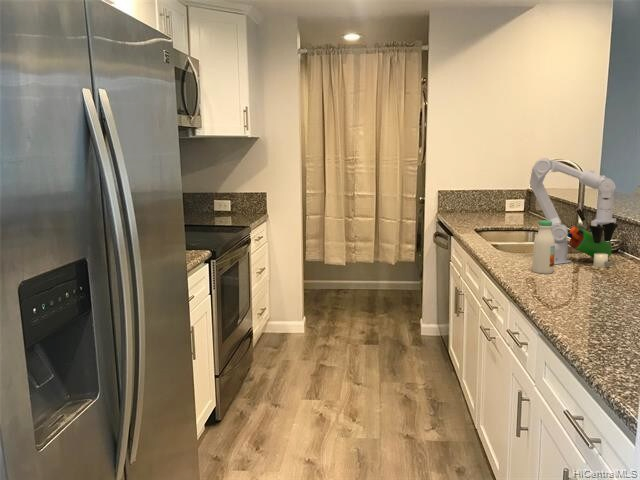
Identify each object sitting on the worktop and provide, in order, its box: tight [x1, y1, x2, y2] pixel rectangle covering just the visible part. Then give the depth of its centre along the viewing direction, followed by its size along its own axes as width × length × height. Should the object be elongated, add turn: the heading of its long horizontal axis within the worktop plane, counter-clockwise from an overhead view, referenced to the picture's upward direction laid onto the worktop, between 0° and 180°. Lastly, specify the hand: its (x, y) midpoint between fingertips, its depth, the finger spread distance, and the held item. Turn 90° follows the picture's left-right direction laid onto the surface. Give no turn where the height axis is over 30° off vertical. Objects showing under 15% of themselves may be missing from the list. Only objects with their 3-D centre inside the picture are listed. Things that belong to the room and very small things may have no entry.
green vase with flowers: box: [567, 226, 613, 260], centre depth 223 cm, size 10×9×20 cm
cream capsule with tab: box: [592, 253, 613, 269], centre depth 216 cm, size 5×7×5 cm
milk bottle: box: [531, 219, 555, 275], centre depth 207 cm, size 8×8×20 cm
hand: (602, 242), depth 217 cm, fingers open, 7 cm apart
